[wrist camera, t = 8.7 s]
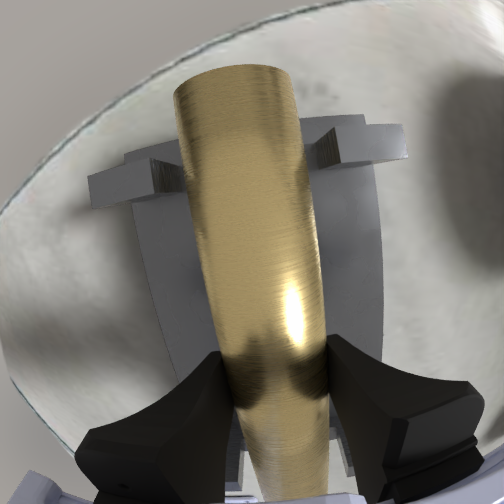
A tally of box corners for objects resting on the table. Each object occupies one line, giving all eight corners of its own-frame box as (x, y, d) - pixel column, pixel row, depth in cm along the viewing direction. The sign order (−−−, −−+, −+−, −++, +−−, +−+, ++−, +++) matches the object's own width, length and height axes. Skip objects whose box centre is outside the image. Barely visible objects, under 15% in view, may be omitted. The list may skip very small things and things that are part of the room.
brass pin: (323, 464, 15) (331, 510, 11) (263, 472, 15) (263, 519, 11) (285, 98, 11) (296, 57, 7) (188, 114, 11) (156, 83, 7)
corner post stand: (210, 438, 18) (198, 500, 13) (135, 156, 14) (73, 143, 8) (368, 416, 18) (392, 474, 12) (354, 120, 14) (404, 87, 8)
